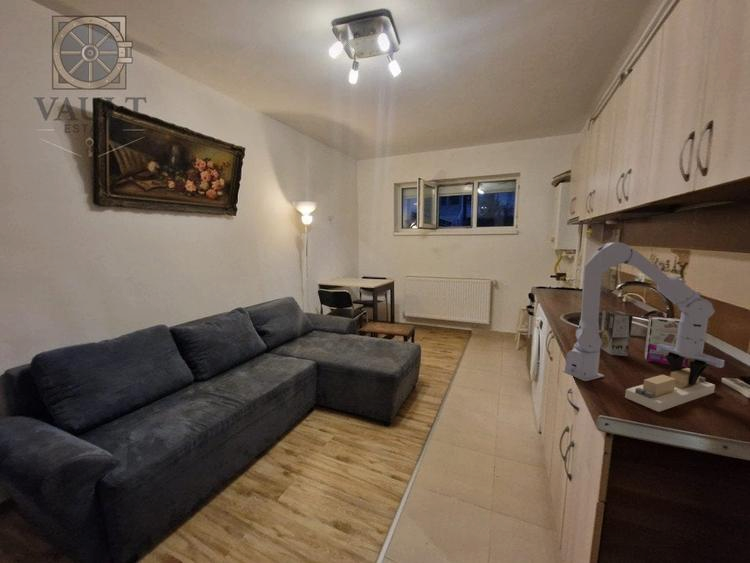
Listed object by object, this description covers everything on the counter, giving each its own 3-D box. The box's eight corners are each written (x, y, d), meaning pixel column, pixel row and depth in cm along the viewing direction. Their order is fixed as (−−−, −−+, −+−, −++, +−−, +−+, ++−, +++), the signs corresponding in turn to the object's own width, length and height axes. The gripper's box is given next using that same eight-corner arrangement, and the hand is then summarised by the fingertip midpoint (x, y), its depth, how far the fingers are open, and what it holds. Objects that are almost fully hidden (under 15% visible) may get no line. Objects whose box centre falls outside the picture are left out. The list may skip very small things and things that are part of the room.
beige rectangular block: (680, 396, 91) (683, 376, 90) (666, 390, 94) (669, 371, 93) (697, 390, 94) (700, 371, 93) (683, 385, 97) (686, 367, 96)
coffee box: (628, 356, 121) (633, 315, 119) (609, 355, 122) (614, 314, 120) (615, 348, 130) (620, 310, 128) (598, 347, 131) (602, 309, 129)
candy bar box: (682, 363, 115) (689, 319, 112) (687, 368, 111) (694, 322, 108) (643, 357, 121) (648, 315, 118) (645, 361, 116) (651, 318, 114)
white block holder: (658, 411, 82) (661, 390, 81) (624, 397, 90) (627, 377, 89) (713, 392, 93) (717, 373, 92) (679, 381, 100) (682, 363, 99)
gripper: (733, 343, 86) (725, 390, 88) (667, 329, 100) (662, 369, 101) (720, 346, 84) (711, 394, 85) (654, 331, 97) (649, 373, 99)
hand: (684, 381), depth 93 cm, fingers closed on beige rectangular block, 3 cm apart
